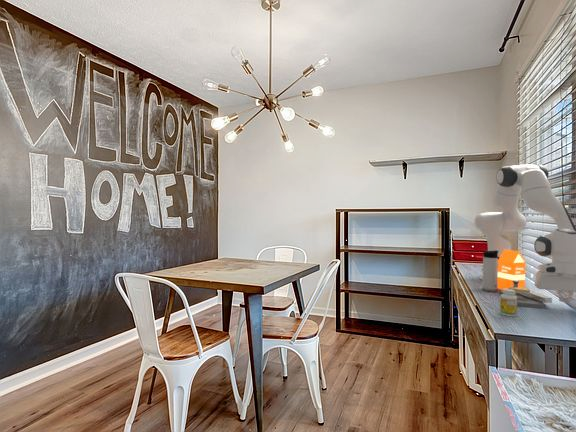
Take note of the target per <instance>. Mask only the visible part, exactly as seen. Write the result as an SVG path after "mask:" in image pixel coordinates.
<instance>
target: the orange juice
mask: <svg viewBox="0 0 576 432" xmlns="http://www.w3.org/2000/svg"><path fill="white" fill-rule="evenodd" d="M512 280H517V281H519V283H518V287H520V288H526V287H525V286H526V261H525V259H524V257H523V255H522V253H521V252H520V251H517V250H512V249H511V250H504V251H503V253H502V254H501V256H500V258H499V260H498V282H497V290H503V289H509V287H511V286H513V282H512Z"/></svg>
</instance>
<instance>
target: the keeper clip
mask: <svg viewBox="0 0 576 432" xmlns="http://www.w3.org/2000/svg"><path fill="white" fill-rule="evenodd" d="M509 289H512V290H515V294H514V295H515V296H516V292H528V293H530V291H531V290H530V289H529V288H527V287H525V288H517V287H509Z"/></svg>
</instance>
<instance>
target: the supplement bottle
mask: <svg viewBox="0 0 576 432" xmlns="http://www.w3.org/2000/svg"><path fill="white" fill-rule="evenodd" d="M503 293H504V294H500V305H499V306H500V310H499V311H500V314H501V315H503V316H505V315H506V317H516V316H517V315H518V306H517V297H516V296H515V295H514V294H515V290H512V289H503Z"/></svg>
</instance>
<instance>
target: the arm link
mask: <svg viewBox="0 0 576 432" xmlns="http://www.w3.org/2000/svg"><path fill="white" fill-rule="evenodd" d="M512 282H513V286H511V287H517V288H520V287H518V283H519V281H517V280H512ZM516 293H518V294H521V295H523V296H526V297H529V298H532V299H535V300H538V301H541V302H543V303H544V304H549V303H551V304H552V303H553V297H550V296H547V295H544V294H541V293H537V292H534V291H531V290H530V293H528V292H516Z"/></svg>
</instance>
